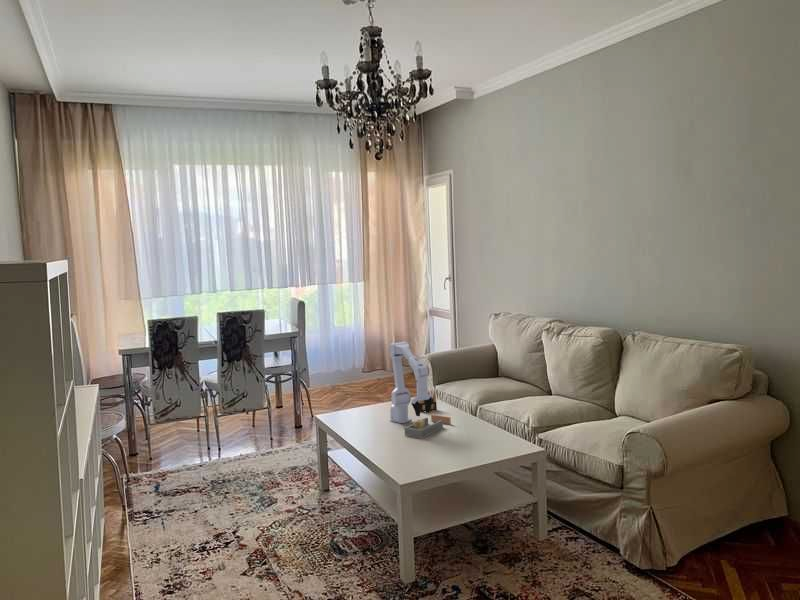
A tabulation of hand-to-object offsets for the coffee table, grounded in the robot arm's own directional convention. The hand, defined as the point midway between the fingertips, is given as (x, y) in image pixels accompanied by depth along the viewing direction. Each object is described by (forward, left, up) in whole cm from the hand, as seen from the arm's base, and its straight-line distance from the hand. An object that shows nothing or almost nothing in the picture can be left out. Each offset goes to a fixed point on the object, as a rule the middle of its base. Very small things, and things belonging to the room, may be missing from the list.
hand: (422, 414), depth 321 cm
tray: (0, +1, -9) cm, 9 cm away
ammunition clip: (-19, +34, -10) cm, 40 cm away
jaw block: (0, -4, -9) cm, 9 cm away
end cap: (0, +18, -9) cm, 20 cm away
